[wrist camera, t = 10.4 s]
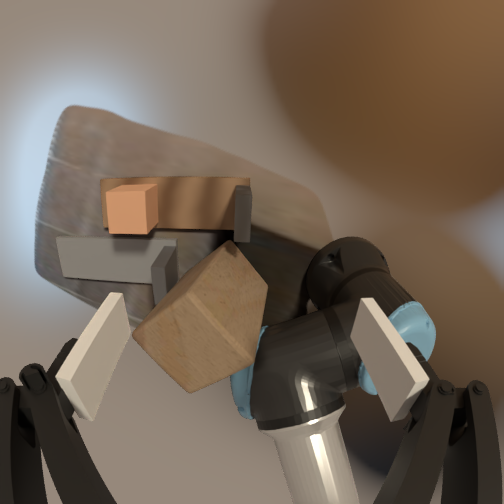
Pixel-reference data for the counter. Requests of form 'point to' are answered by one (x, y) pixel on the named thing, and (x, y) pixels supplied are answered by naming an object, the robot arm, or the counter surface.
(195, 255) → the counter surface
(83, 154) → the counter surface
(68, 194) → the counter surface
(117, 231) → the terracotta cube
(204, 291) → the wooden block
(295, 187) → the counter surface
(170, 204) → the walnut strip
